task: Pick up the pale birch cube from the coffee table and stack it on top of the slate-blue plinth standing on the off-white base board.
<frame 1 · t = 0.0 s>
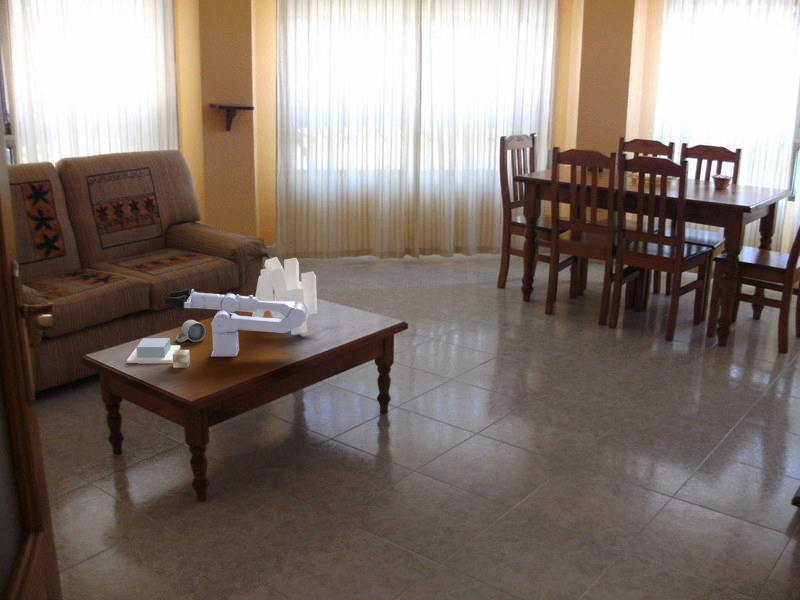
hand: (167, 298, 305), 22 cm above the table, tool horizontal, fingers open, 7 cm apart
pile of blocks: (286, 324, 347), on the table
plinth base: (154, 355, 309), on the table
birch cube: (181, 365, 300), on the table
ceramic mug: (190, 340, 327), on the table
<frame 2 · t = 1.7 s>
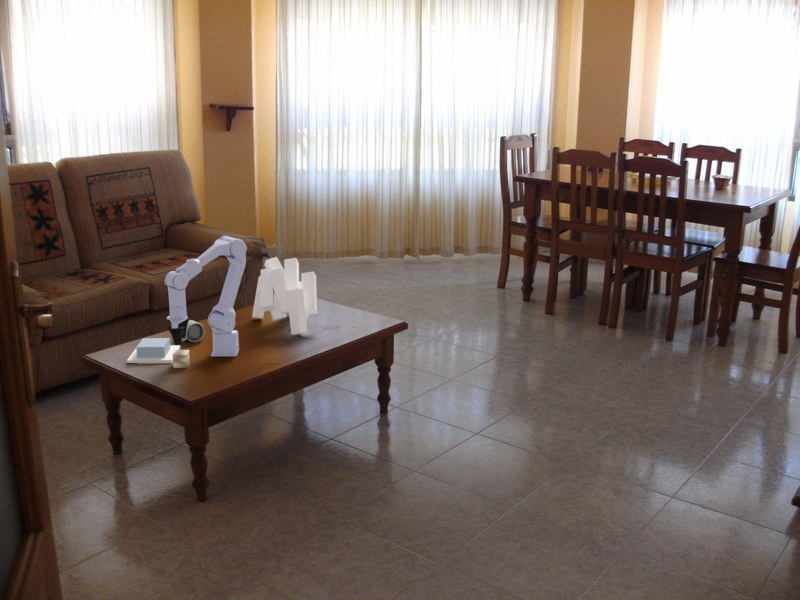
hand: (180, 341, 297), 9 cm above the table, tool pointing down, fingers open, 7 cm apart
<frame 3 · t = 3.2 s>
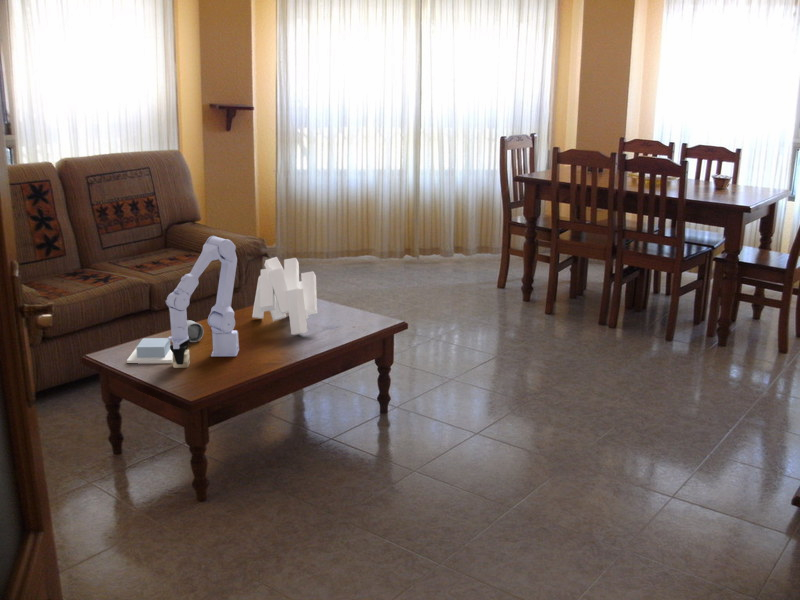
hand: (181, 361, 300), 1 cm above the table, tool pointing down, fingers closed on birch cube, 5 cm apart
birch cube: (181, 365, 300), on the table, touching gripper
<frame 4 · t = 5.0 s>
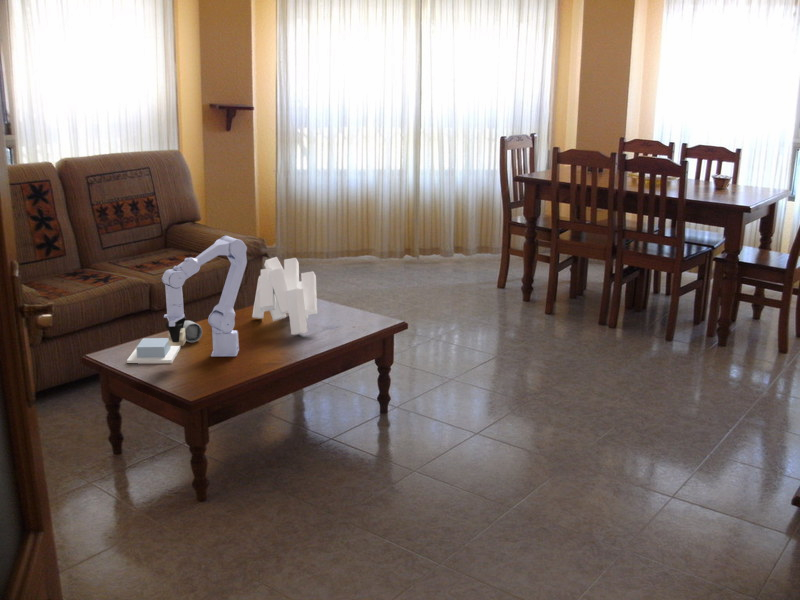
hand: (177, 339, 298), 9 cm above the table, tool pointing down, fingers closed on birch cube, 5 cm apart
birch cube: (177, 343, 299), point 8 cm above the table, touching gripper
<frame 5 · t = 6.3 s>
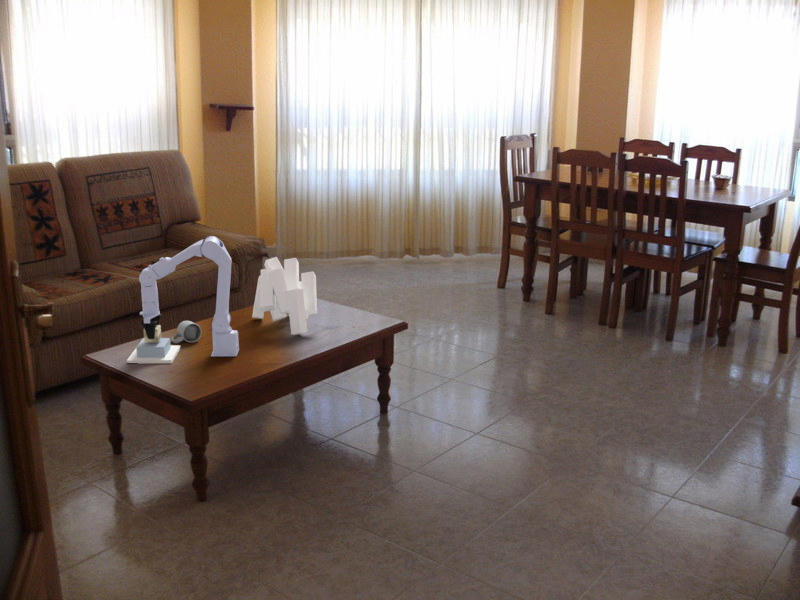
hand: (152, 336, 307), 8 cm above the table, tool pointing down, fingers closed on birch cube, 5 cm apart
birch cube: (153, 340, 307), point 6 cm above the table, touching gripper
when the fingers open (8 cm above the table, at t = 7.1 s): birch cube stays where it is, resting on plinth base.
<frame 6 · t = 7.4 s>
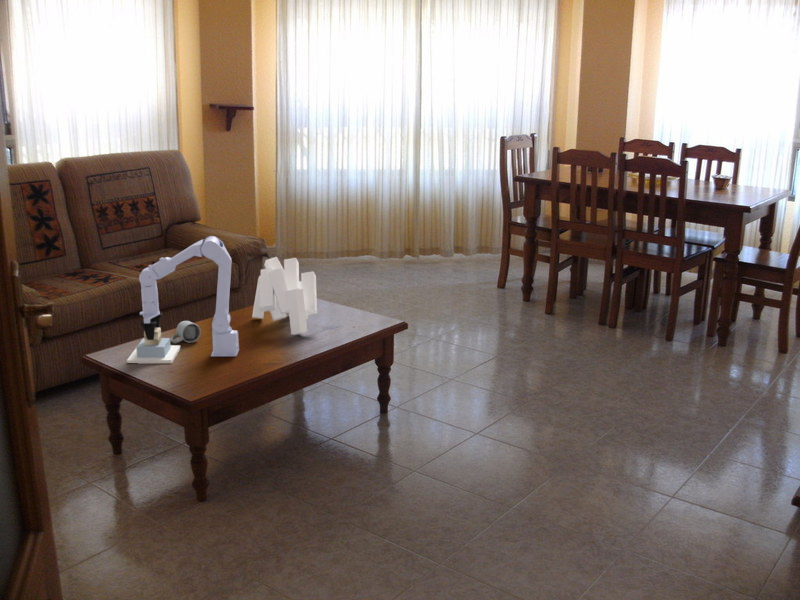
hand: (152, 336, 307), 8 cm above the table, tool pointing down, fingers open, 7 cm apart
birch cube: (153, 342, 308), point 5 cm above the table, touching plinth base
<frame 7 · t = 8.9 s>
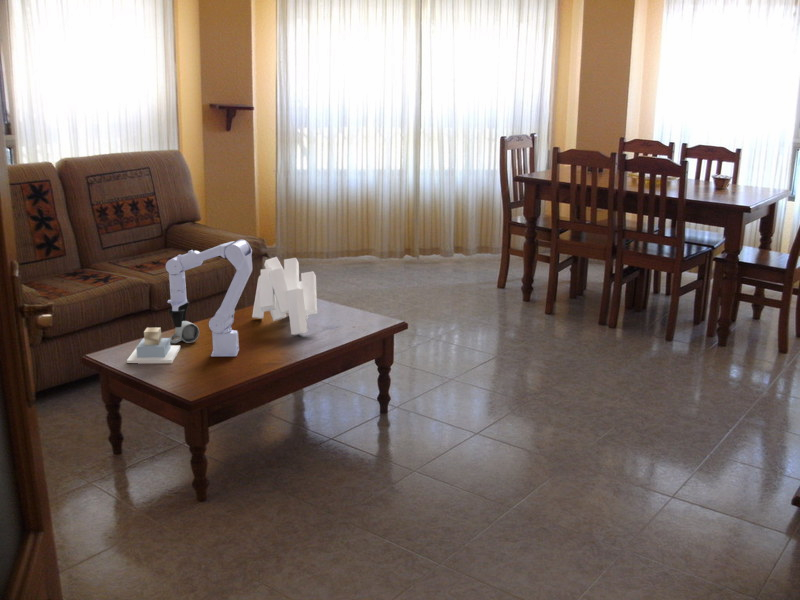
hand: (180, 324, 312), 10 cm above the table, tool pointing down, fingers open, 7 cm apart
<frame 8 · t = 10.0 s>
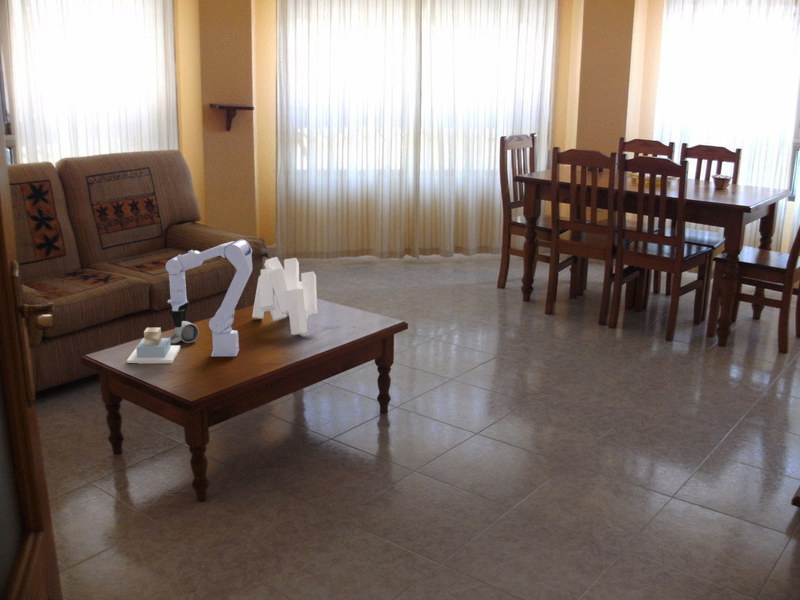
hand: (180, 324, 312), 10 cm above the table, tool pointing down, fingers open, 7 cm apart
at the end: birch cube 0.0 cm off-centre on the plinth base, point 5.2 cm above the plinth base's base; birch cube tilted 0°; the gripper is holding nothing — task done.
